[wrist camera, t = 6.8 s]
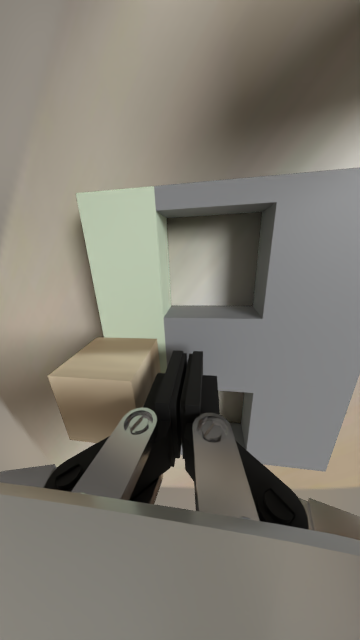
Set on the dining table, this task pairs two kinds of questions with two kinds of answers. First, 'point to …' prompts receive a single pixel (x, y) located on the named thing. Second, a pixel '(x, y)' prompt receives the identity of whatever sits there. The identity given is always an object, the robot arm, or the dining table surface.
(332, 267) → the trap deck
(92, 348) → the maple block
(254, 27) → the dining table surface
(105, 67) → the dining table surface
